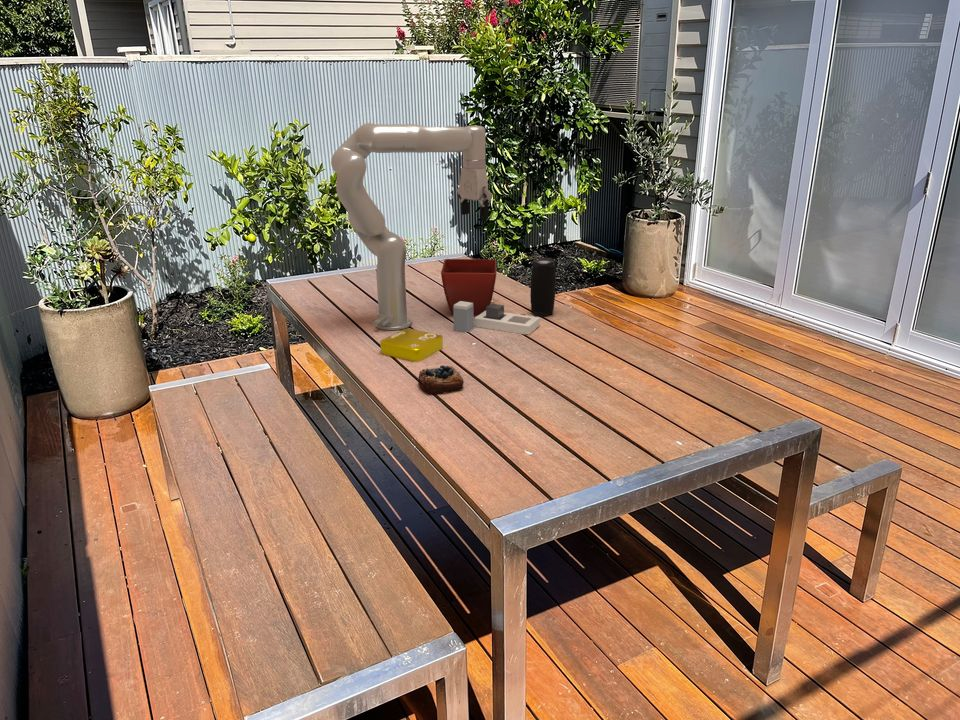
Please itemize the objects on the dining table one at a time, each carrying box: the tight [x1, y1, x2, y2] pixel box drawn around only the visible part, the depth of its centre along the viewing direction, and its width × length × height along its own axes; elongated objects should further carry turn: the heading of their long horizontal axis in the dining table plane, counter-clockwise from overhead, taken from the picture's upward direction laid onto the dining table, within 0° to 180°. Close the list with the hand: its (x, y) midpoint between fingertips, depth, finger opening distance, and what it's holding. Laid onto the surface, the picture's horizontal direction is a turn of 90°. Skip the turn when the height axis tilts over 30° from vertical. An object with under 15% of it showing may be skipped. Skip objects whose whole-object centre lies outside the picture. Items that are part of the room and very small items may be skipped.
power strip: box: [474, 302, 541, 336], centre depth 242 cm, size 18×20×7 cm
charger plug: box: [452, 301, 475, 334], centre depth 235 cm, size 5×5×9 cm
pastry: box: [418, 365, 465, 395], centre depth 193 cm, size 11×12×6 cm
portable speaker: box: [530, 257, 557, 318], centre depth 249 cm, size 9×9×20 cm
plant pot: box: [440, 258, 497, 317], centre depth 253 cm, size 19×19×17 cm
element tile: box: [379, 327, 444, 363], centre depth 219 cm, size 15×15×5 cm
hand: (474, 216), depth 241 cm, fingers open, 9 cm apart
